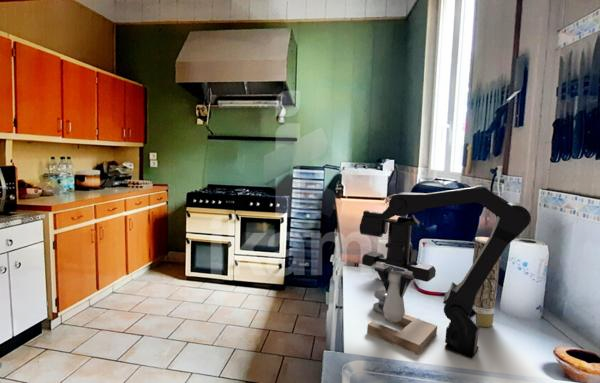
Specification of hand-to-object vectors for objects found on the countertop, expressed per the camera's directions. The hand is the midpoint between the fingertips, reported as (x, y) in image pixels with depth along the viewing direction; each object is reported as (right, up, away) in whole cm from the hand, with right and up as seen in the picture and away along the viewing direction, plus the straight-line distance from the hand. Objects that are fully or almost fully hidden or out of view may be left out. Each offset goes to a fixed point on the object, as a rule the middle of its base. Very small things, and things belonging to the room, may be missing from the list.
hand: (394, 295), depth 91 cm
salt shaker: (0, -7, +1) cm, 7 cm away
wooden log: (+27, -11, +8) cm, 30 cm away
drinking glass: (+7, -6, +39) cm, 40 cm away
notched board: (+2, -10, -1) cm, 10 cm away
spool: (+1, -8, +13) cm, 16 cm away
